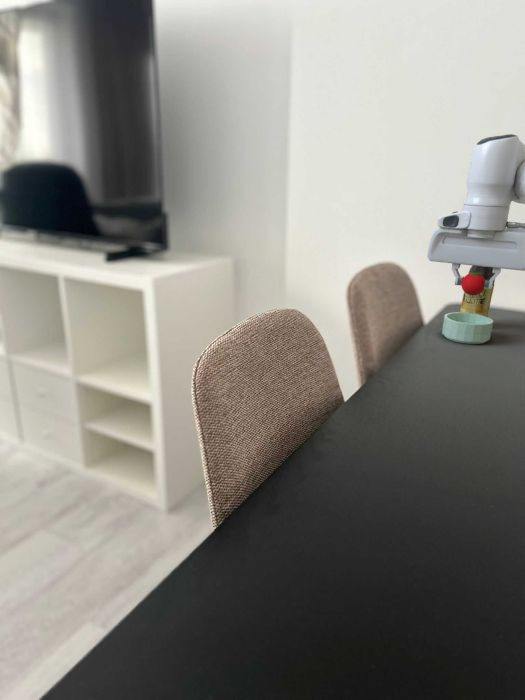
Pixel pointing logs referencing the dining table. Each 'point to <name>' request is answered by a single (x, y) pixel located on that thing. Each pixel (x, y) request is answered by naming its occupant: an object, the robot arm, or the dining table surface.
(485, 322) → the bowl
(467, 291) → the tomato
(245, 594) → the dining table surface
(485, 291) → the sauce bottle
